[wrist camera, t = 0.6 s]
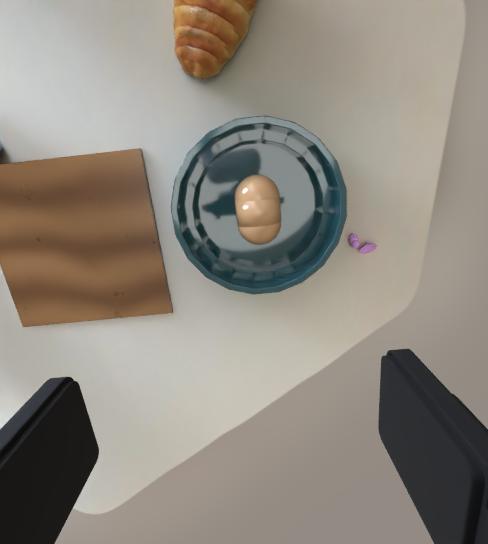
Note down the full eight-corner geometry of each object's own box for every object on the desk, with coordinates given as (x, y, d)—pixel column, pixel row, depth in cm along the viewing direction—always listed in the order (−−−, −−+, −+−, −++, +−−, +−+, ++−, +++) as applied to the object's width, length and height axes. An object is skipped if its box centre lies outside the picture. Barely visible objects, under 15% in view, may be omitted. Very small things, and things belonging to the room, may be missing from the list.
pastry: (228, 95, 30) (226, 84, 26) (160, 65, 29) (148, 50, 25) (267, -19, 27) (270, -49, 23) (193, -55, 26) (185, -92, 22)
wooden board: (-32, 168, 32) (-36, 168, 31) (141, 148, 31) (140, 148, 31) (25, 325, 37) (23, 327, 37) (173, 311, 37) (172, 312, 36)
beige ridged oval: (232, 176, 32) (230, 177, 27) (276, 171, 31) (280, 172, 27) (240, 241, 34) (239, 251, 30) (280, 237, 34) (285, 247, 29)
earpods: (363, 242, 35) (375, 232, 34) (368, 254, 35) (380, 244, 33) (343, 239, 34) (354, 229, 33) (347, 251, 33) (359, 241, 32)
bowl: (167, 133, 31) (156, 127, 27) (332, 114, 30) (346, 105, 26) (193, 286, 36) (187, 300, 32) (335, 272, 35) (346, 285, 31)
